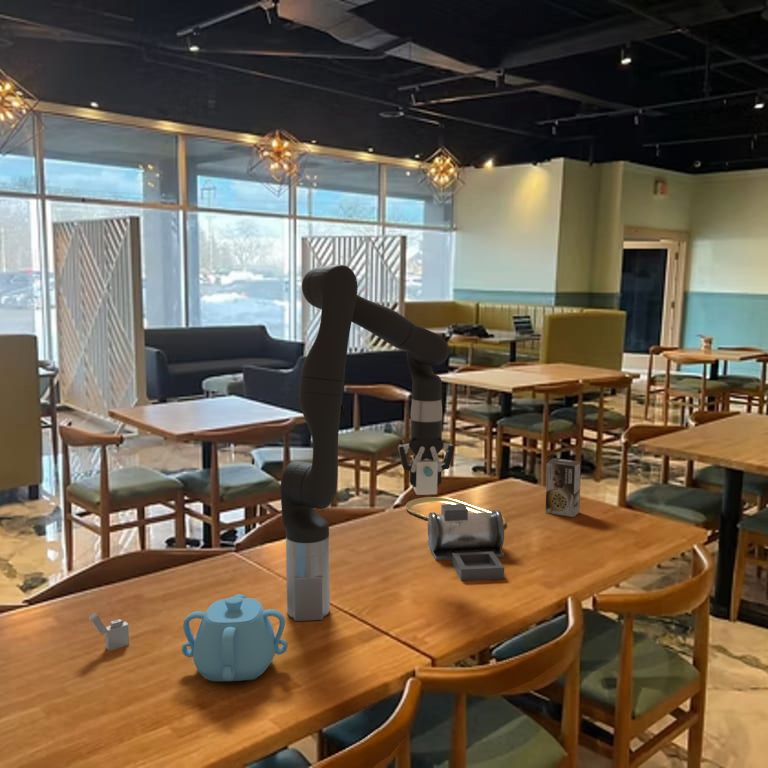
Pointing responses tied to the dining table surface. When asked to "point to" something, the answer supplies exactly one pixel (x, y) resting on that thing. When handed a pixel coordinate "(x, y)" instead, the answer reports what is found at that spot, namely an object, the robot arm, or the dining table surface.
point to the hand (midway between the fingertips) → (425, 485)
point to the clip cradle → (477, 566)
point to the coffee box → (563, 487)
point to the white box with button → (426, 477)
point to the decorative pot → (234, 639)
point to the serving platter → (443, 500)
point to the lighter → (112, 632)
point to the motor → (464, 532)
